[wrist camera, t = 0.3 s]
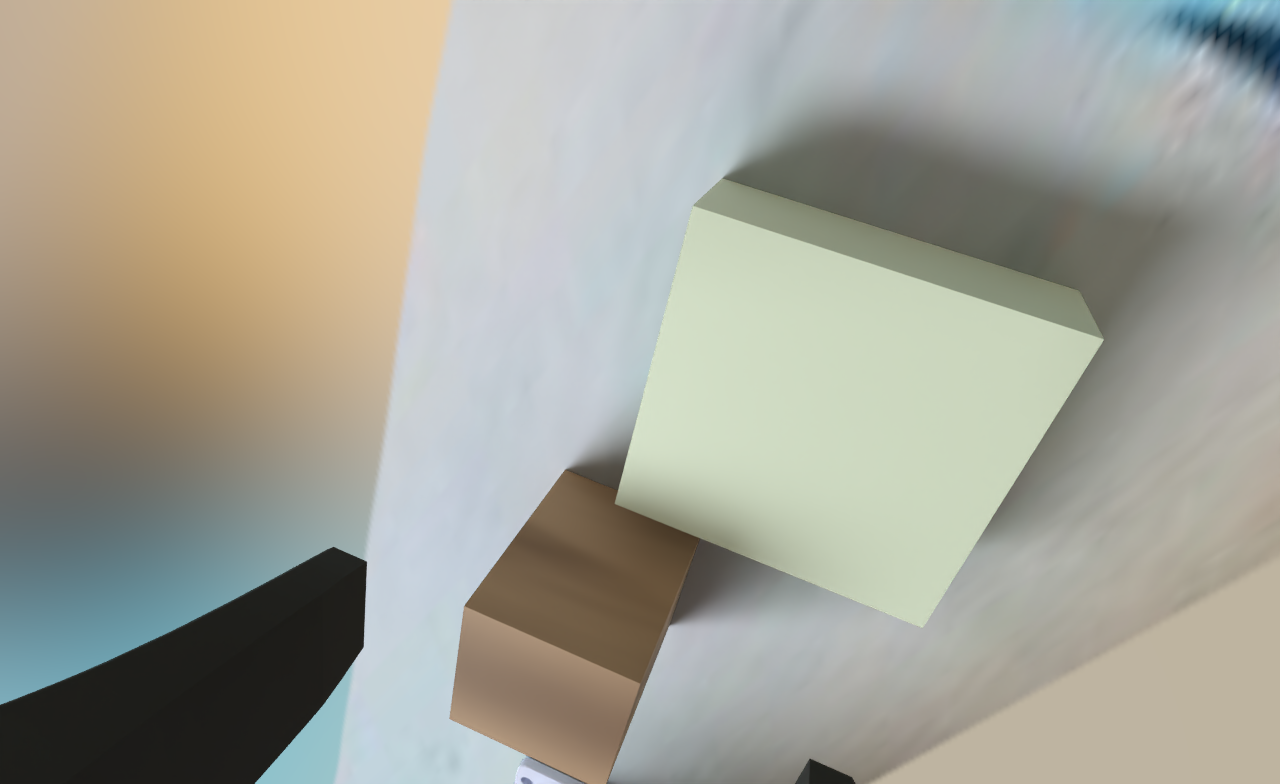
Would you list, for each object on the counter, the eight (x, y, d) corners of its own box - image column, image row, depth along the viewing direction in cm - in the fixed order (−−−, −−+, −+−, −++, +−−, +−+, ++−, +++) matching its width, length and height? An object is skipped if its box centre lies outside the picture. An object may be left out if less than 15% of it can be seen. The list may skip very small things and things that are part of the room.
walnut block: (669, 624, 24) (603, 791, 19) (544, 572, 25) (449, 718, 20) (705, 524, 22) (640, 683, 17) (565, 469, 23) (464, 606, 18)
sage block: (922, 548, 20) (922, 628, 18) (650, 444, 22) (614, 503, 19) (1076, 284, 16) (1104, 339, 14) (726, 174, 17) (692, 205, 15)
